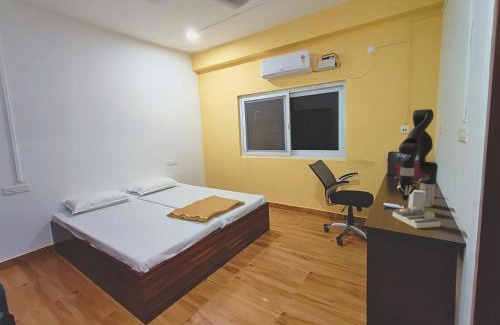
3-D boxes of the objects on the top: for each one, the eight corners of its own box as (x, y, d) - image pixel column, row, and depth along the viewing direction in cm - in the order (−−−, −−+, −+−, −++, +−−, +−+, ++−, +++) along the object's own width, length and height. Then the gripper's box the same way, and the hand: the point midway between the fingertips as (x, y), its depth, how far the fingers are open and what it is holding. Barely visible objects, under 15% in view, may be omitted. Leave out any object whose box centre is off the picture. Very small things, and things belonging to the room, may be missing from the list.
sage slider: (424, 218, 150) (424, 211, 150) (428, 217, 151) (429, 211, 150) (429, 220, 146) (430, 213, 146) (434, 220, 147) (434, 213, 146)
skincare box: (411, 212, 170) (413, 191, 168) (407, 209, 176) (409, 189, 173) (424, 212, 169) (426, 192, 166) (419, 209, 174) (421, 189, 172)
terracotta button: (397, 212, 161) (397, 209, 160) (404, 212, 161) (404, 208, 161) (403, 215, 156) (403, 211, 155) (410, 214, 156) (410, 211, 156)
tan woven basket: (422, 193, 215) (424, 177, 213) (424, 198, 201) (425, 180, 199) (393, 190, 227) (394, 174, 225) (393, 194, 213) (394, 178, 210)
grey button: (408, 210, 161) (408, 206, 161) (415, 209, 162) (415, 206, 162) (414, 212, 156) (414, 209, 156) (421, 212, 157) (422, 208, 157)
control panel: (392, 216, 163) (393, 208, 162) (413, 214, 165) (414, 207, 165) (416, 228, 144) (417, 219, 143) (440, 226, 146) (441, 217, 145)
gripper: (411, 172, 159) (409, 197, 162) (393, 173, 157) (391, 199, 160) (421, 174, 152) (418, 201, 154) (401, 176, 150) (400, 202, 153)
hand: (405, 200), depth 157 cm, fingers closed
